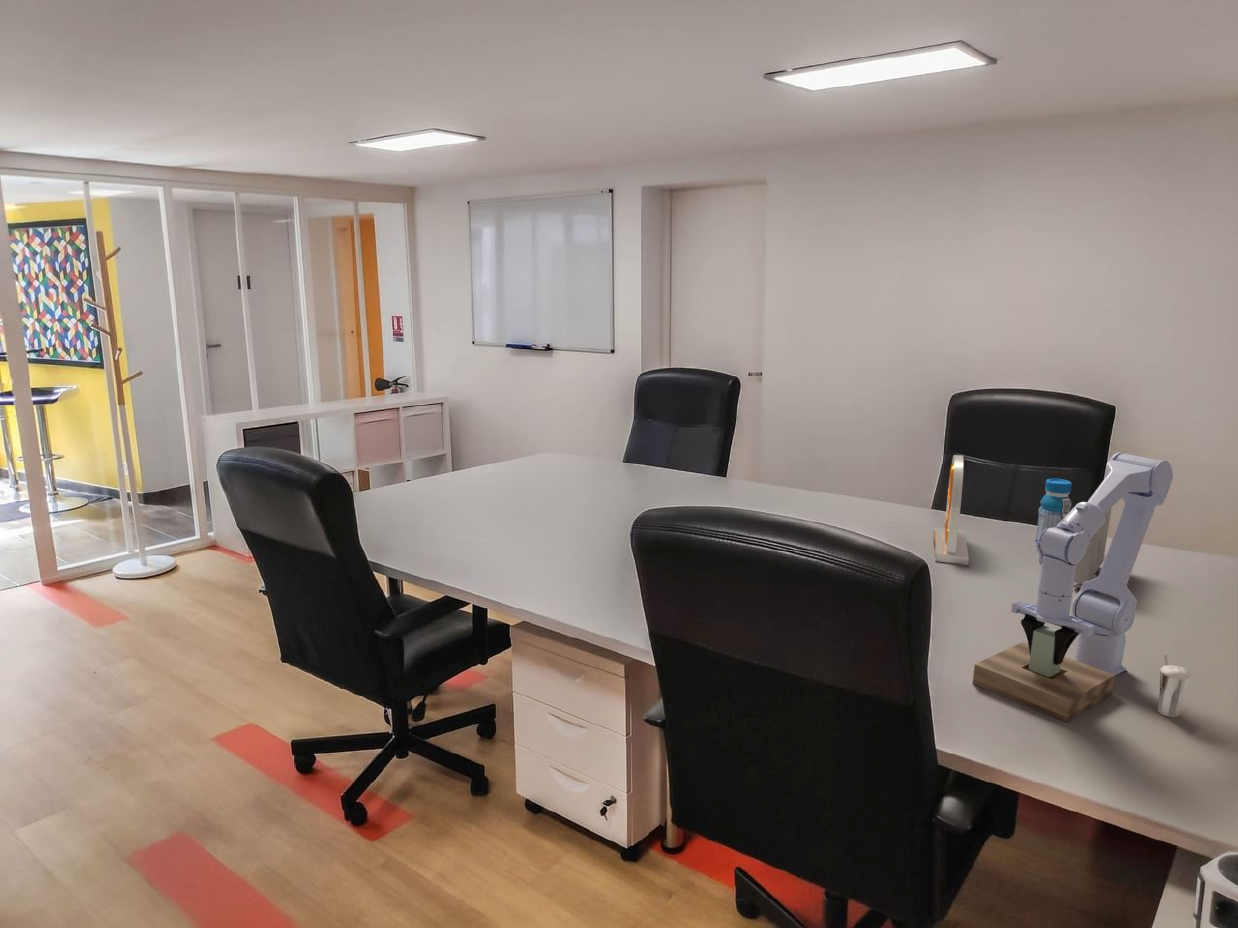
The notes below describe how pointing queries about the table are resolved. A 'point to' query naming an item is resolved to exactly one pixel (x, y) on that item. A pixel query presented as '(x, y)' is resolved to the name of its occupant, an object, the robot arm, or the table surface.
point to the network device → (1093, 555)
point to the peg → (1043, 652)
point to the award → (952, 521)
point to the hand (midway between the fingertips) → (1045, 658)
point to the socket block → (1044, 683)
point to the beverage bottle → (1053, 505)
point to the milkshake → (1172, 689)
